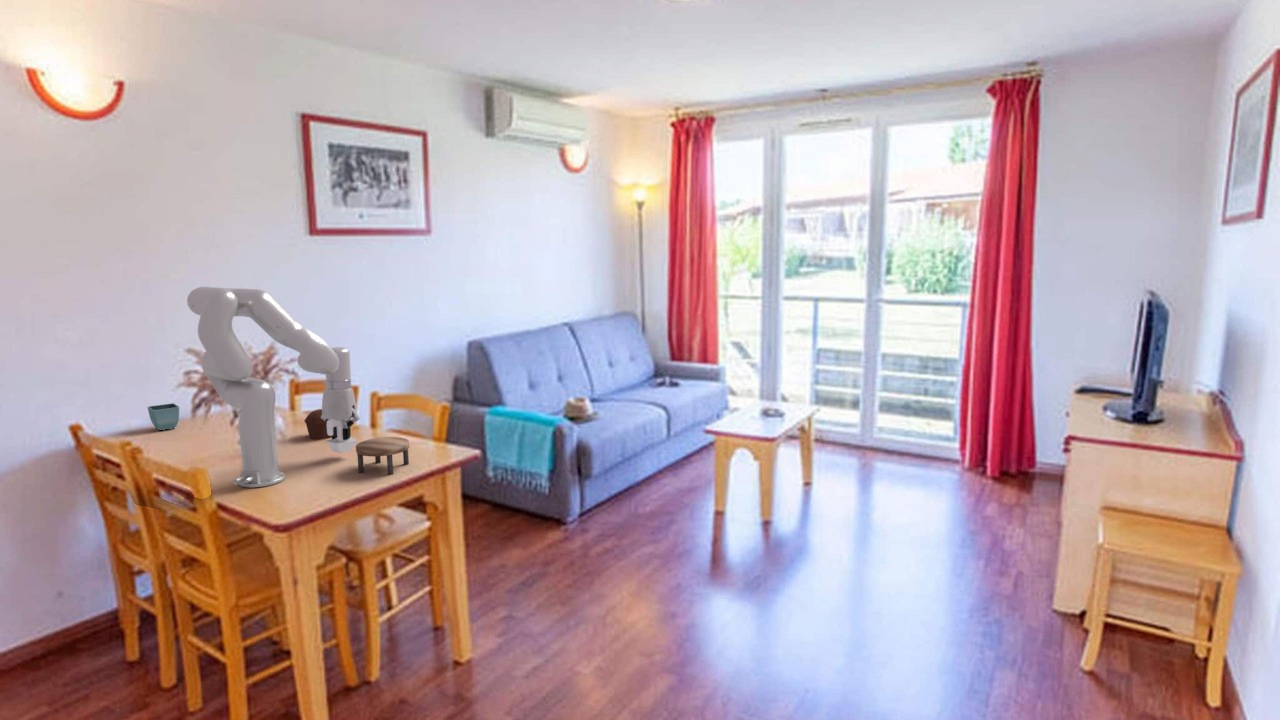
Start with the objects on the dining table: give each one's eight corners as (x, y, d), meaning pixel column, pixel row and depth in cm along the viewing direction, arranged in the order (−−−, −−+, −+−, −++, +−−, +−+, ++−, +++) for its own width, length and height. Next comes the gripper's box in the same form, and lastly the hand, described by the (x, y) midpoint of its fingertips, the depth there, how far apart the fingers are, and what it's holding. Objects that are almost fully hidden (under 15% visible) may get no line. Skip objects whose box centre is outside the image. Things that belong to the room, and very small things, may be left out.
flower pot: (182, 429, 271) (179, 406, 269) (155, 433, 264) (152, 410, 263) (176, 425, 277) (173, 402, 275) (149, 429, 270) (146, 406, 269)
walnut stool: (394, 477, 216) (393, 452, 215) (347, 474, 219) (345, 449, 218) (419, 461, 232) (417, 438, 231) (374, 459, 235) (373, 436, 233)
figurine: (323, 452, 233) (320, 408, 231) (349, 445, 241) (346, 403, 238) (335, 456, 229) (332, 411, 227) (361, 449, 237) (358, 406, 234)
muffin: (333, 440, 257) (331, 413, 255) (301, 441, 255) (299, 414, 253) (342, 431, 268) (340, 406, 266) (311, 432, 267) (309, 406, 265)
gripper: (308, 385, 230) (311, 440, 232) (355, 388, 227) (357, 443, 230) (322, 381, 237) (325, 434, 240) (367, 384, 234) (369, 437, 237)
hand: (341, 438), depth 235 cm, fingers closed on figurine, 3 cm apart
